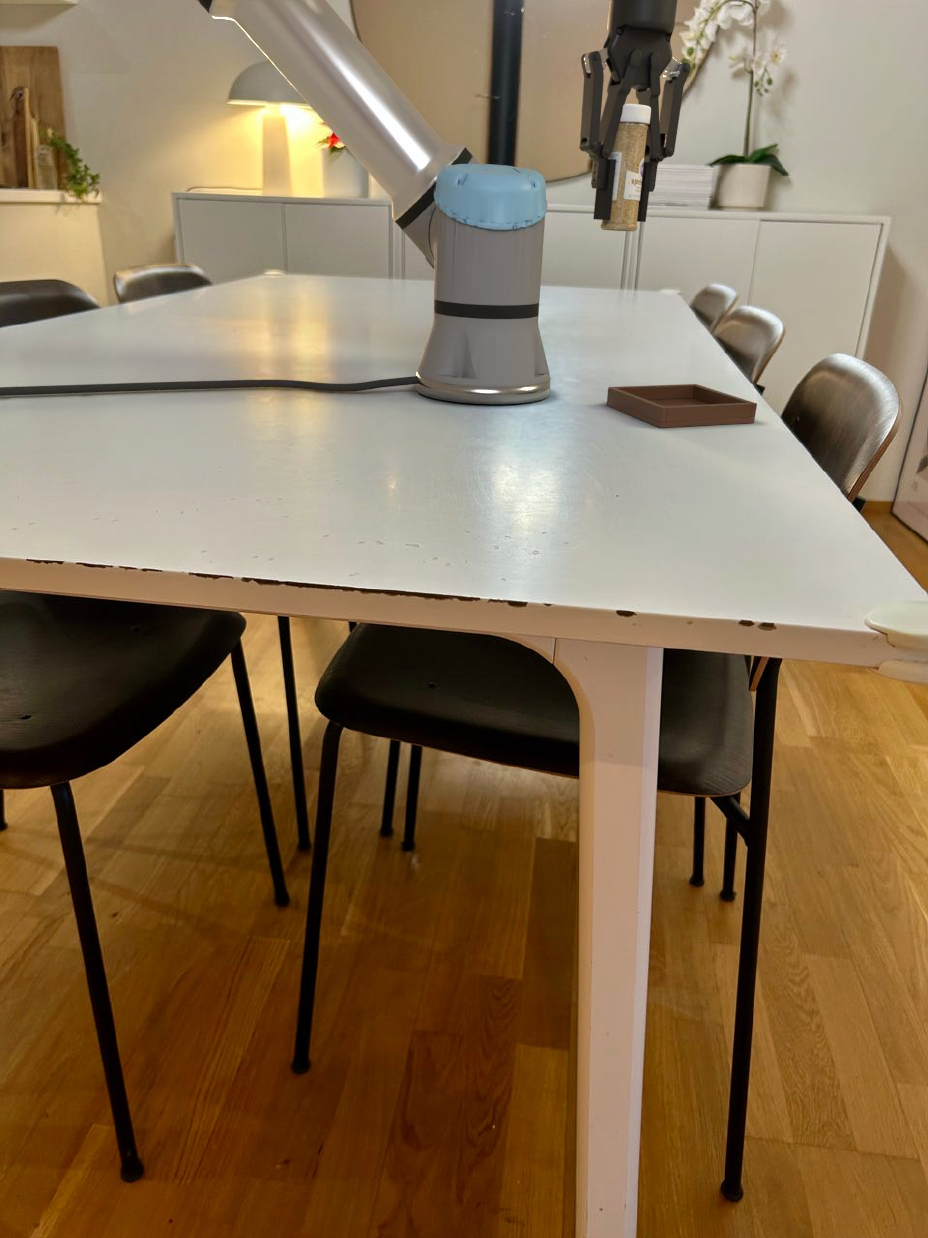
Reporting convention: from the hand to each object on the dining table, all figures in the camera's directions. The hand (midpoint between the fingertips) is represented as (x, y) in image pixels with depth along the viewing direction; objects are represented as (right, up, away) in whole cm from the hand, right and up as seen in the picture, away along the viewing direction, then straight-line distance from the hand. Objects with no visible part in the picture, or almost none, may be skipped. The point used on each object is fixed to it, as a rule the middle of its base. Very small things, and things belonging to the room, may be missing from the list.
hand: (619, 219), depth 110 cm
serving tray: (+4, -27, -14) cm, 31 cm away
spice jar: (0, -1, +1) cm, 1 cm away
